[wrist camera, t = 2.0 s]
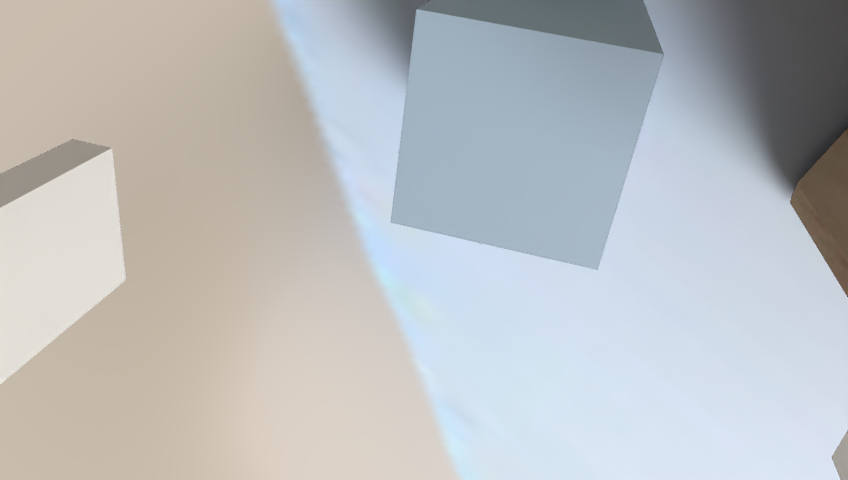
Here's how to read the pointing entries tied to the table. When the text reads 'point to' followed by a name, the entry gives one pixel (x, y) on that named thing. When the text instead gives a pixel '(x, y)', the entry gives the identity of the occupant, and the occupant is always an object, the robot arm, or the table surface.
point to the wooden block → (827, 206)
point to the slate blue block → (524, 121)
